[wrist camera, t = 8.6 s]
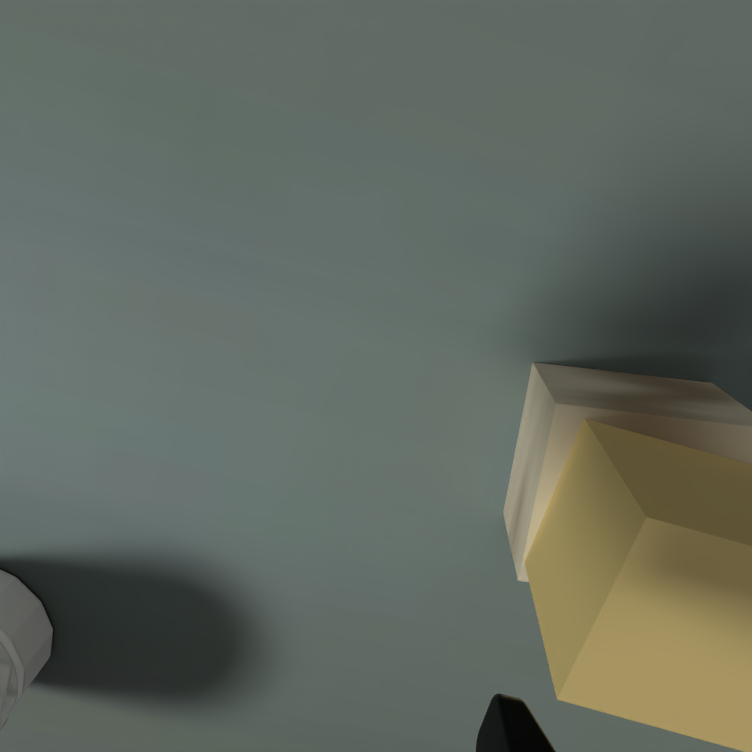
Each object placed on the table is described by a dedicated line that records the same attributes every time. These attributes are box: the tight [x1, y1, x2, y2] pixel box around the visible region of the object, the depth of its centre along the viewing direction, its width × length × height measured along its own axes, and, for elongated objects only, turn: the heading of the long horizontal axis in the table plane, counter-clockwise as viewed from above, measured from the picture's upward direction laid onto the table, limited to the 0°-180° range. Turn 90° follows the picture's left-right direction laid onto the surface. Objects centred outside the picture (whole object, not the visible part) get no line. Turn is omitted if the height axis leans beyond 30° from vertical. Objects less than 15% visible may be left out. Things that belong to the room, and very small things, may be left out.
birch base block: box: [503, 362, 752, 582], centre depth 19 cm, size 6×6×4 cm
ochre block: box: [525, 418, 752, 752], centre depth 15 cm, size 5×5×5 cm
